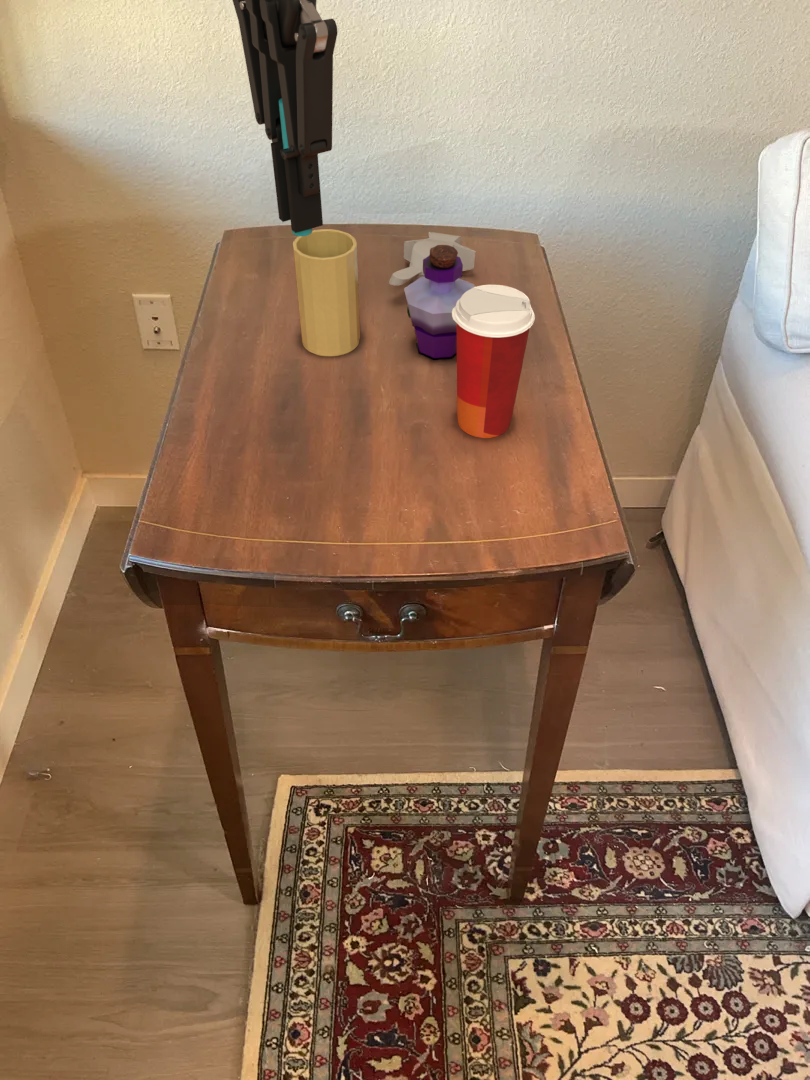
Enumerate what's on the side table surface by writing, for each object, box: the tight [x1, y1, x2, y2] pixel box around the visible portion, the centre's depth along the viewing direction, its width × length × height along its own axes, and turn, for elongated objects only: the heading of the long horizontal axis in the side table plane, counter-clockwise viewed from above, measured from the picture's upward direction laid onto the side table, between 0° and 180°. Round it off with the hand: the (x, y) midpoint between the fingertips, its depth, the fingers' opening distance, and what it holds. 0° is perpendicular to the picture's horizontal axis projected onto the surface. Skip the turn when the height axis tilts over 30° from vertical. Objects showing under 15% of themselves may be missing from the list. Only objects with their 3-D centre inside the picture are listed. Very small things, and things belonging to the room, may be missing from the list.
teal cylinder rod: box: [279, 98, 313, 237], centre depth 70 cm, size 2×2×11 cm
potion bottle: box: [403, 245, 476, 361], centre depth 93 cm, size 9×9×12 cm
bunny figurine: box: [388, 231, 477, 287], centre depth 106 cm, size 10×5×15 cm
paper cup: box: [452, 284, 536, 439], centre depth 83 cm, size 8×8×14 cm
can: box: [292, 228, 361, 357], centre depth 94 cm, size 7×7×12 cm
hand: (300, 221), depth 74 cm, fingers closed on teal cylinder rod, 2 cm apart
